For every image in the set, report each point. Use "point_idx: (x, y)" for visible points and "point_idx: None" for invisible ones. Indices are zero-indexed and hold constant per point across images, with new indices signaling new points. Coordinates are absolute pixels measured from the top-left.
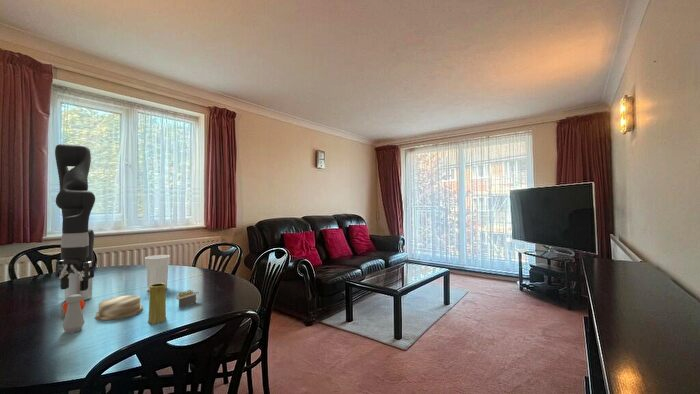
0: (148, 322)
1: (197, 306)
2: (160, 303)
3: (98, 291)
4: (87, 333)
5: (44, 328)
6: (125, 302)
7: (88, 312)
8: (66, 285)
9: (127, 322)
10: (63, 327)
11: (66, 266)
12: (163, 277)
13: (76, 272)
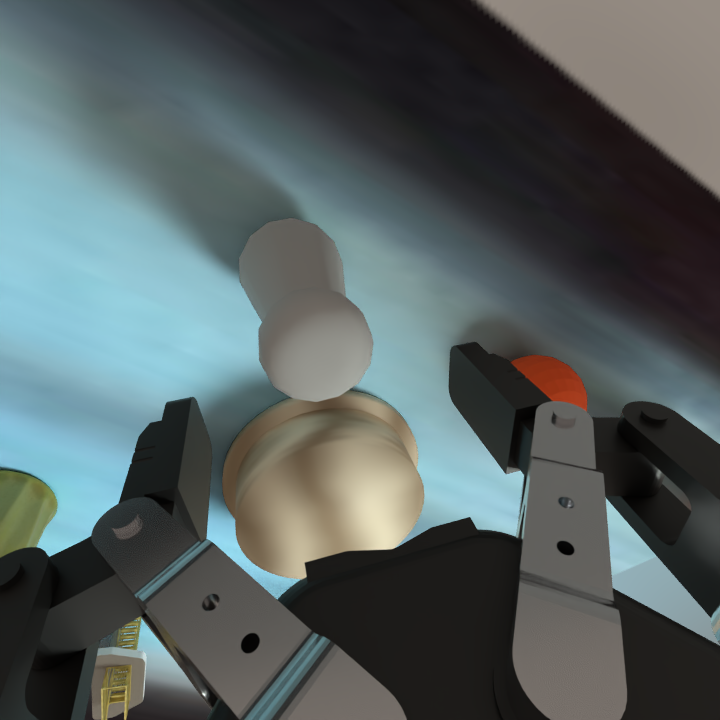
0: (7, 472)
1: None
2: None
3: None
4: (168, 266)
5: (476, 223)
6: (276, 520)
7: None
8: (464, 397)
9: (139, 429)
10: (300, 220)
11: (542, 655)
12: None
13: (196, 603)
